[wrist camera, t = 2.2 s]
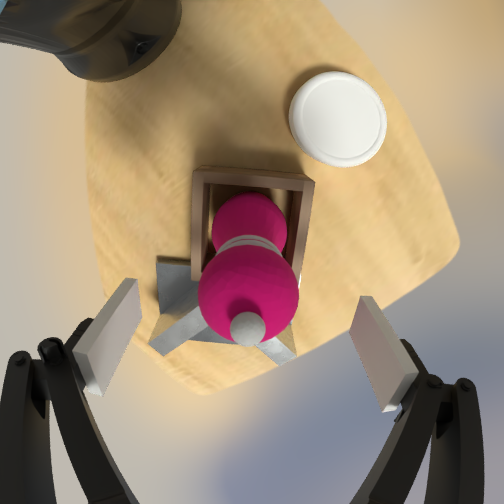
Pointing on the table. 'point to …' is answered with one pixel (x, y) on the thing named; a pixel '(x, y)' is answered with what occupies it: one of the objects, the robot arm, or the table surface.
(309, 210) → the wooden square frame
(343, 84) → the coaster
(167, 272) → the v block
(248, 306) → the pepper mill
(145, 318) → the table surface
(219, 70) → the table surface
